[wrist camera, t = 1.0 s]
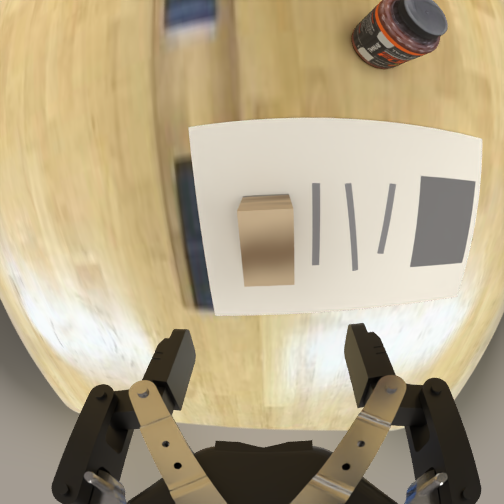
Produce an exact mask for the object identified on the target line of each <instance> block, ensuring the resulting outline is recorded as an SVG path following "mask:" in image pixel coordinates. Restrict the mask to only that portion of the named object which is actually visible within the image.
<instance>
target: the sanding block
mask: <svg viewBox="0 0 504 504" xmlns="http://www.w3.org/2000/svg"><path fill="white" fill-rule="evenodd" d="M237 218H238V228H239V238H240V248H241V258H242V268H243V278H244V287H250V286H278V285H294V213H293V206H292V203H291V199H290V196H289V194H272V195H253V196H243V198H242V200H241V202H240V205H239V207H238V210H237Z"/></svg>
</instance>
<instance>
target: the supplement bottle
mask: <svg viewBox="0 0 504 504" xmlns="http://www.w3.org/2000/svg"><path fill="white" fill-rule="evenodd" d="M447 26H448V24H447V20H446V17H445V15H444V13H443V11H442V10H441V9H440V8H439V6H438V5H437V4H436V3H435V2H434V1H432V0H382V1H381V2H380V3H379V4H378V5H377V6H376V7H375V8H374V9H373V10H372V11H371V12H370V13H369V14H368V15H367V16H366V17H365V18H364V19H363V20H362V21H361V22H360V23H359V24H358V25H357V26H356V28H355V29H354V31H353V34H352V43H353V47H354V49H355V51H356V52H357V54H358V55H359V56H360V57H361V58H362V59H363V60H364V61H365V62H366V63H368V64H370V65H372V66H374V67H377V68H381V69H388V68H393V67H395V66H398V65H400V64H402V63H405V62H407V61H409V60H412V59H415V58H417V57H420V56H422V55H425V54H427V53H430V52H432V51H434V50H435V49H436V47H437V46H438V44H439V41H440V36H441V35H443V34H444V33H445V32H446V31H447Z"/></svg>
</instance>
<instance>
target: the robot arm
mask: <svg viewBox="0 0 504 504" xmlns="http://www.w3.org/2000/svg"><path fill="white" fill-rule="evenodd" d="M344 354H345V360H346V363H347V367H348V371H349V375H350V379H351V383H352V387H353V391H354V395H355V399H356V403H357V408H360V407H364V408H363V410H362V411H361V413H359V415H358V416H357V418H356V419H355V421H354V422H353V424H352V425H351V427H350V429H349V430H348V432H347V433H346V435H345V436H344V438H343V439H342V441H341V442H340V443H339V445H338V446H337V448H336V449H335V451H334V452H331V451H329V450H327V449H324V448H321V447H316V446H312V440H311V441H297V442H286V443H282V444H279V445H274V446H270V447H265V448H262V447H257V446H253V445H249V444H245V443H241V442H226V441H216V443H215V447H210V448H205V449H202V450H200V451H198V452H196V453H194V452H193V451H192V450H191V448H190V446H189V445H188V443H187V442H186V440H185V438H184V436H183V435H182V433H181V431H180V429H179V428H178V426H177V424H176V422H175V421H174V419H173V417H172V413H173V410H180V411H181V409H182V405H183V401H184V398H185V394H186V391H187V387H188V384H189V381H190V377H191V374H192V370H193V367H194V364H195V358H196V354H195V349H194V345H193V342H192V338H191V335H190V332H189V330H187V329H174V330H173V332H172V334H171V336H170V338H165V339H164V340H162V341H161V342H160V343H159V344H158V346H157V348H156V350H155V353H154V355H153V357H152V359H151V361H150V364H149V366H148V368H147V370H146V373H145V375H144V377H143V379H142V381H138V382H136V383H134V384H133V385H132V386H131V388H130V389H129V390H122V391H113V389H112V388H111V387H110V386H108V385H105V384H102V385H98V386H96V387H94V388H93V389H92V390H91V392H90V393H89V396H88V398H87V400H86V402H85V404H84V406H83V408H82V411H81V413H80V415H79V417H78V420H77V422H76V424H75V427H74V429H73V431H72V433H71V436H70V438H69V441H68V443H67V446H66V448H65V451H64V453H63V456H62V458H61V461H60V464H59V467H58V469H57V472H56V475H55V477H54V481H53V483H52V493H53V496H54V497H55V499H57V501H59V502H61V503H62V504H398V503H397V502H395V501H394V500H393V499H391V498H390V497H388V496H387V495H386V494H384V493H383V492H382V491H380V490H379V489H378V488H376V487H375V486H374V485H373V484H371V483H370V482H369V481H367V480H366V479H365V478H364V477H363V475H364V474H365V472H366V470H367V469H368V467H369V465H370V463H371V462H372V460H373V459H374V457H375V455H376V453H377V452H378V450H379V448H380V446H381V444H382V442H383V441H384V439H385V437H386V435H387V433H388V431H389V429H390V427H391V425H396V426H405V430H406V435H407V439H408V444H409V448H410V453H411V458H412V463H413V469H414V474H415V480H416V481H415V482H413V483H412V484H411V485H410V486H409V488H408V490H407V493H406V501H405V503H404V504H475V503H476V502H477V500H478V499H479V497H480V494H481V485H480V480H479V476H478V472H477V468H476V464H475V461H474V457H473V454H472V450H471V447H470V444H469V441H468V438H467V435H466V431H465V429H464V426H463V423H462V420H461V417H460V415H459V412H458V409H457V407H456V404H455V402H454V399H453V397H452V394H451V392H450V389H449V387H448V385H447V384H446V382H445V381H443V380H442V379H439V378H431V379H428V380H427V381H426V382H425V383H424V385H411V384H406V383H405V382H404V380H403V379H402V378H400V377H398V376H396V375H395V372H394V370H393V367H392V365H391V363H390V360H389V358H388V355H387V353H386V351H385V348H384V347H383V344H382V341H381V339H380V338H379V337H378V336H377V335H376V334H375V333H374V332H369V333H368V332H367V330H366V327H365V325H364V323H359V324H349V325H348V329H347V335H346V341H345V347H344ZM134 429H140V431H141V433H142V435H143V438H144V440H145V442H146V444H147V447H148V449H149V451H150V453H151V455H152V457H153V459H154V462H155V464H156V465H157V467H158V469H159V471H160V473H161V475H162V477H163V478H161V479H160V480H158V481H157V482H156V483H154V484H153V485H152V486H150V487H149V488H147V489H146V490H144V491H143V492H141V493H140V494H138V495H137V496H135V497H134V498H132V499H131V500H129V501H128V502H126V499H125V489H124V486H123V485H122V484H121V483H120V482H119V480H120V477H121V473H122V470H123V466H124V462H125V458H126V455H127V451H128V448H129V444H130V441H131V438H132V434H133V431H134Z"/></svg>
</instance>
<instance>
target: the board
mask: <svg viewBox="0 0 504 504" xmlns="http://www.w3.org/2000/svg"><path fill="white" fill-rule="evenodd" d="M189 137H190V147H191V156H192V165H193V174H194V182H195V190H196V198H197V205H198V212H199V220H200V226H201V233H202V240H203V246H204V253H205V259H206V265H207V271H208V277H209V283H210V289H211V295H212V300H213V306H214V311H215V316H236V315H276V314H298V313H316V312H331V311H344V310H356V309H366V308H376V307H386V306H395V305H403V304H411V303H418V302H426V301H433V300H439V299H446V298H452V297H457V295H458V292H459V289H460V286H461V282H462V279H463V275H464V271H465V268H466V264H467V260H468V256H469V251H470V247H471V242H472V237H473V232H474V227H475V221H476V214H477V207H478V200H479V191H480V180H481V165H482V139H481V138H477V137H473V136H469V135H465V134H460V133H456V132H451V131H446V130H441V129H435V128H429V127H423V126H417V125H410V124H403V123H394V122H385V121H374V120H361V119H344V118H276V119H258V120H245V121H233V122H224V123H215V124H207V125H200V126H193V127H189ZM272 194H289V196H290V199H291V203H292V206H293V213H294V285H278V286H250V287H244V278H243V268H242V258H241V248H240V238H239V228H238V218H237V210H238V207H239V205H240V202H241V200H242V198H243V196H253V195H272Z"/></svg>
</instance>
